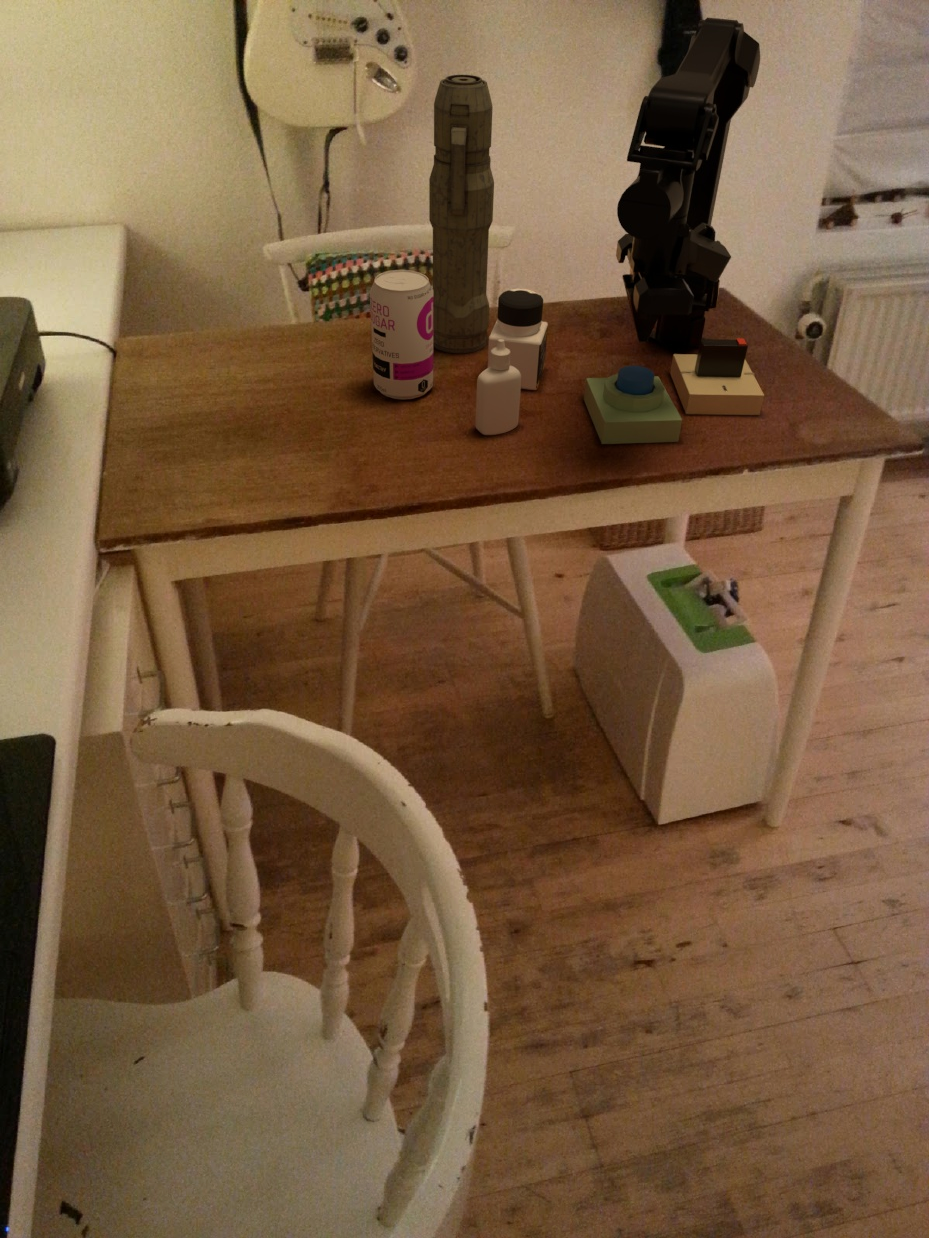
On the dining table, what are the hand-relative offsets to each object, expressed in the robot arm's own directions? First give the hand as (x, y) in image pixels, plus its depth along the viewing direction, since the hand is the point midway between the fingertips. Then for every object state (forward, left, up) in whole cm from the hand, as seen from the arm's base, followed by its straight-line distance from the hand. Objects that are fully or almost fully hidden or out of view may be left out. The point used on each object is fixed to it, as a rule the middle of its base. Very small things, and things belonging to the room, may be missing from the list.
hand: (642, 340), depth 119 cm
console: (+1, +15, -11) cm, 19 cm away
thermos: (-32, -5, -11) cm, 34 cm away
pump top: (0, 0, -7) cm, 7 cm away
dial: (+1, +15, -8) cm, 17 cm away
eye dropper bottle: (-8, -16, -11) cm, 21 cm away
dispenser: (0, 0, -11) cm, 11 cm away
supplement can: (-24, -20, -11) cm, 33 cm away
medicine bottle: (-18, -5, -11) cm, 22 cm away
